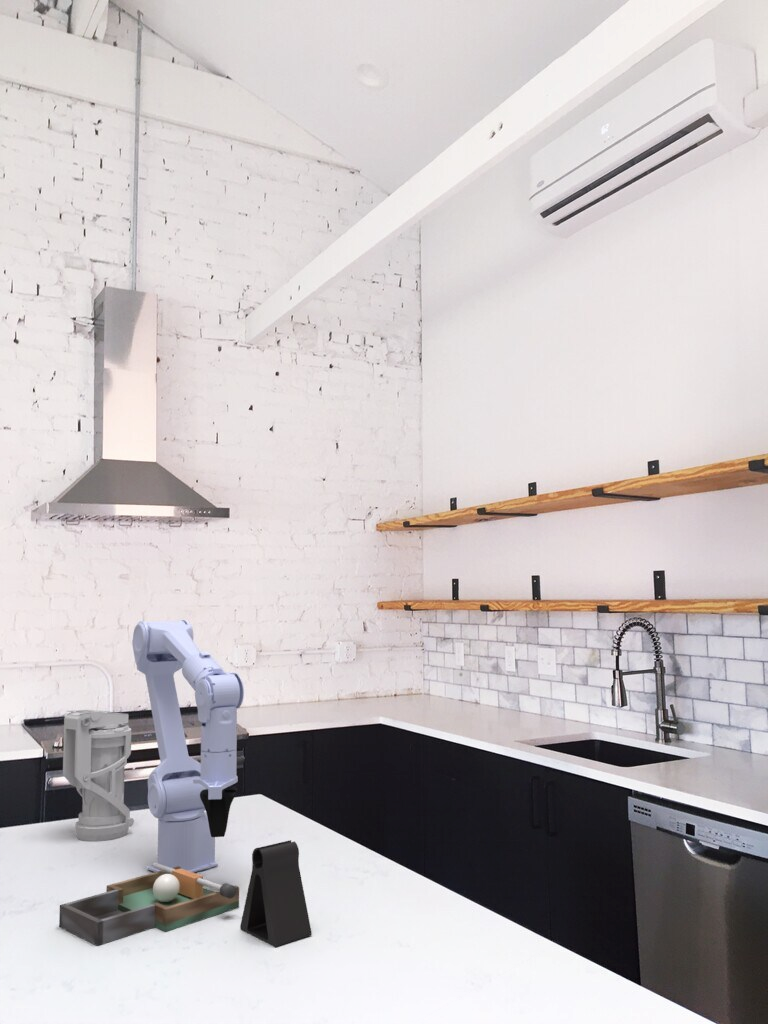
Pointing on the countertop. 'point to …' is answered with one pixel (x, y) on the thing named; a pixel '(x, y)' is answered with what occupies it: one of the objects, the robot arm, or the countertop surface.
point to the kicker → (195, 883)
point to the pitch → (137, 910)
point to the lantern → (98, 771)
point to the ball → (166, 888)
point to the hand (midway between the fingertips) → (218, 835)
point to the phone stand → (276, 896)
